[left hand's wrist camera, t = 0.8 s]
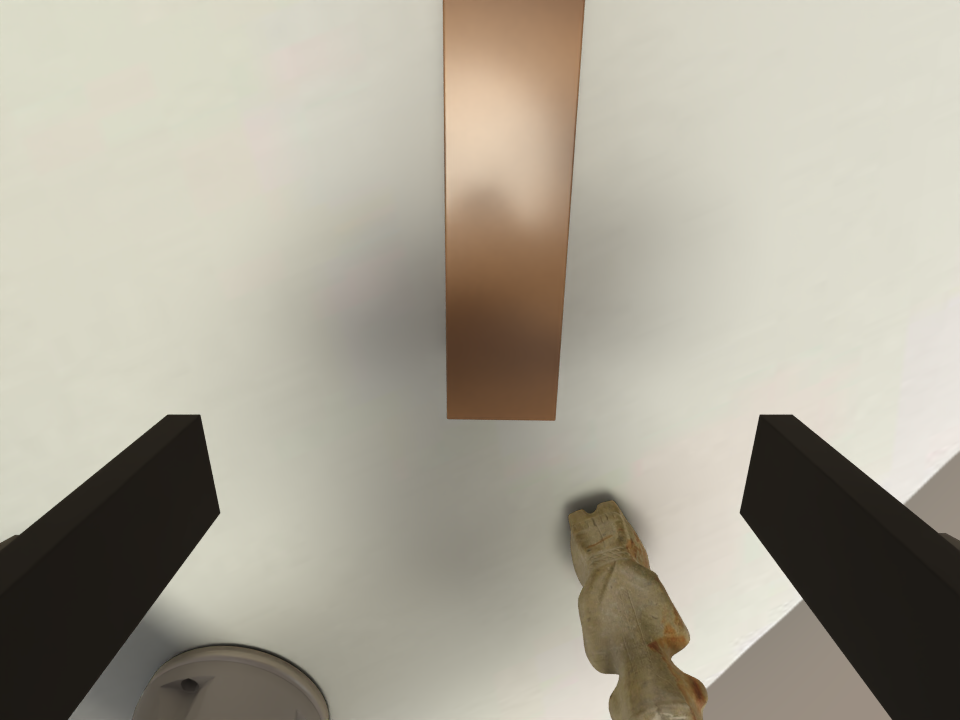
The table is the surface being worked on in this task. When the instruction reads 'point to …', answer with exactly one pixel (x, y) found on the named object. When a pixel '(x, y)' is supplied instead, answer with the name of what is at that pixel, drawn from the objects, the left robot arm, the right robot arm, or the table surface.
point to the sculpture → (630, 621)
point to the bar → (507, 200)
